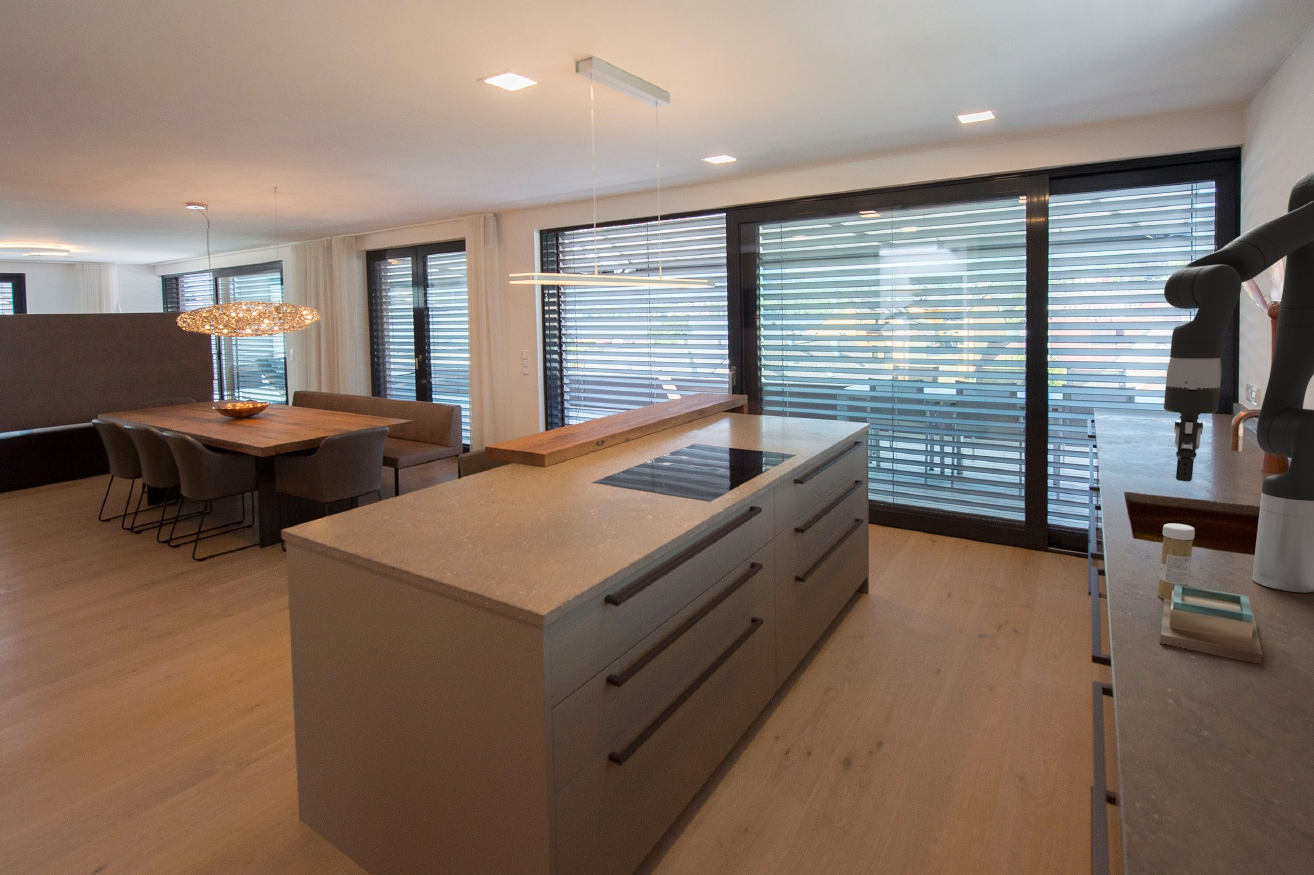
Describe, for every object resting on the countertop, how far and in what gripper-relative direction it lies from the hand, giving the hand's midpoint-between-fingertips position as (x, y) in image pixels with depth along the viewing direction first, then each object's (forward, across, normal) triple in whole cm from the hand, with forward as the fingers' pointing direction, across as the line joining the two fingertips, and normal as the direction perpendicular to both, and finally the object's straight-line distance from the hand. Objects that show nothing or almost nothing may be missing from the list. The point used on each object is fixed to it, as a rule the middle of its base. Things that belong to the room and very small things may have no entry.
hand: (1183, 476), depth 124 cm
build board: (+22, +15, +5) cm, 27 cm away
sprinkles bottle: (+23, 0, 0) cm, 23 cm away
